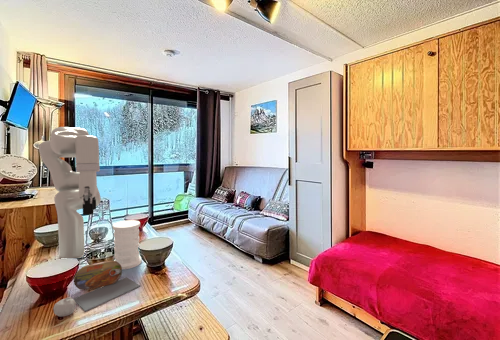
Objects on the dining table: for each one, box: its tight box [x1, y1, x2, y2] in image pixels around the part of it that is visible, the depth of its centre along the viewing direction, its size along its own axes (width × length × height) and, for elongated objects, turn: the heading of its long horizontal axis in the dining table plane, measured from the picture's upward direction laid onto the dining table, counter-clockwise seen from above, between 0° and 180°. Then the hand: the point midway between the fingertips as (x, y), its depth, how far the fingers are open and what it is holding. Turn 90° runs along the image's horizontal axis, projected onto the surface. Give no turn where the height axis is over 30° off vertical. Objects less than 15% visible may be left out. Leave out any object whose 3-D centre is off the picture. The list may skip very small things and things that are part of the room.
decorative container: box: [112, 219, 143, 270], centre depth 108 cm, size 12×12×18 cm
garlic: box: [53, 296, 77, 318], centre depth 75 cm, size 6×5×5 cm
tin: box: [73, 260, 123, 291], centre depth 90 cm, size 15×3×8 cm, turn 117°
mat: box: [72, 276, 141, 313], centre depth 86 cm, size 10×18×1 cm, turn 144°
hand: (90, 211), depth 95 cm, fingers open, 9 cm apart
